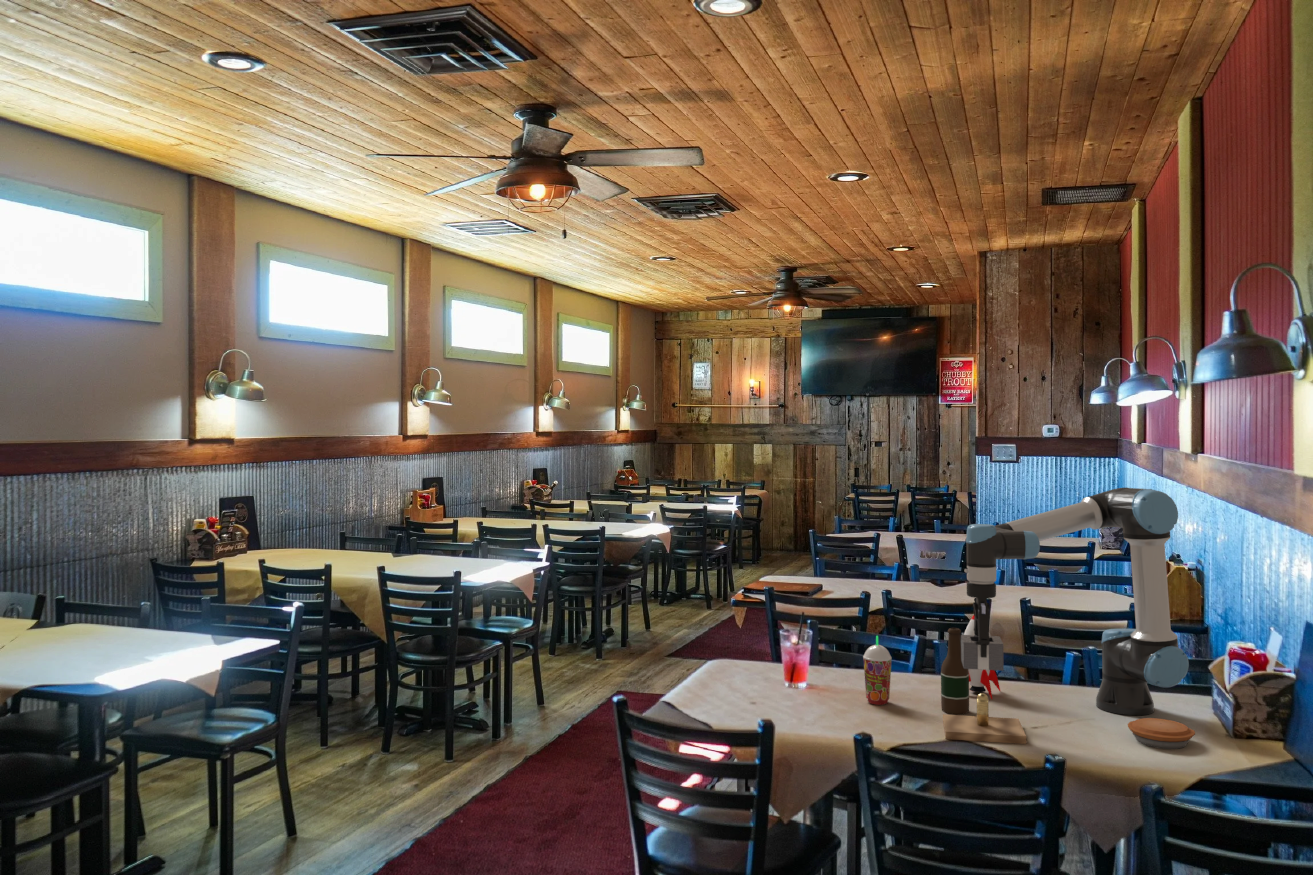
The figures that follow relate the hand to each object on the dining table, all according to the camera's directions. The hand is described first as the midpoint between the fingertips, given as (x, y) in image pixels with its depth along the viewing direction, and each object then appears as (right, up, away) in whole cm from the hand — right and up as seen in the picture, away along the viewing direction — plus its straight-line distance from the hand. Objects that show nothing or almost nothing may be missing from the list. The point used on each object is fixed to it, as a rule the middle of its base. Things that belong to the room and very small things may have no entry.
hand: (981, 664), depth 259 cm
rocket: (+12, -18, +39) cm, 45 cm away
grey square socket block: (0, 0, 0) cm, 0 cm away
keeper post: (0, -16, 0) cm, 16 cm away
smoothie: (-21, -19, +30) cm, 41 cm away
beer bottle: (-1, -19, +20) cm, 27 cm away
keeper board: (0, -18, 0) cm, 18 cm away
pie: (+43, -18, -10) cm, 48 cm away
